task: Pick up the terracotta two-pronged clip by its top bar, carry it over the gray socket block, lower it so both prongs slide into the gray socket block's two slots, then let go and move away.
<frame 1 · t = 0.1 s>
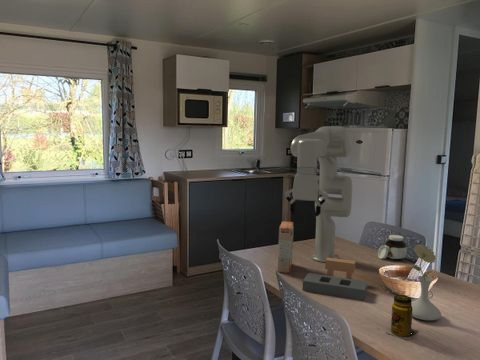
hand: (305, 214, 163), 31 cm above the table, tool pointing down, fingers open, 9 cm apart
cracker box: (285, 268, 193), on the table
spread jar: (391, 259, 209), on the table
gray socket block: (334, 290, 167), on the table
clip: (339, 280, 178), on the table
flower in vase: (421, 315, 145), on the table
condiment: (402, 332, 133), on the table
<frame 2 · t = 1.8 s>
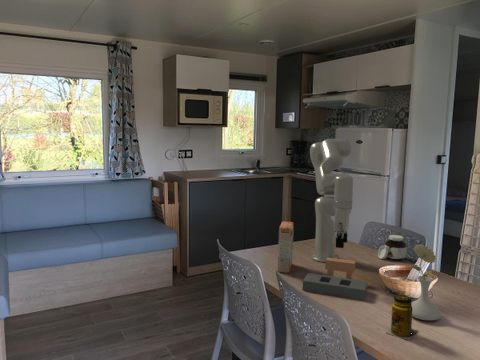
hand: (341, 244, 175), 16 cm above the table, tool pointing down, fingers open, 9 cm apart
nothing on the table moved.
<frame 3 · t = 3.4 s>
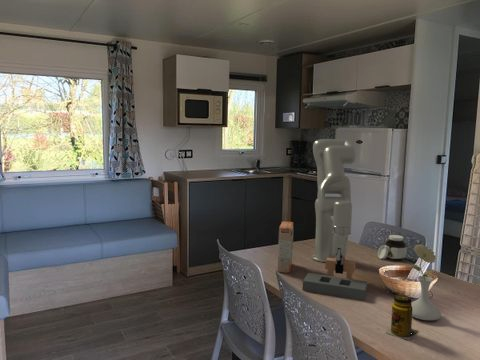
hand: (340, 271, 177), 4 cm above the table, tool pointing down, fingers closed on clip, 4 cm apart
clip: (339, 280, 178), on the table, touching gripper
everything else where it was.
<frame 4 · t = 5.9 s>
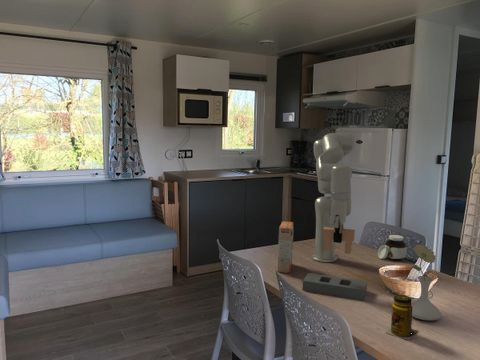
hand: (338, 240, 167), 20 cm above the table, tool pointing down, fingers closed on clip, 4 cm apart
clip: (338, 251, 167), point 16 cm above the table, touching gripper
everything else where it was.
when the fingers open (5 cm above the table, at t = 8.7 s): clip stays where it is, on the table.
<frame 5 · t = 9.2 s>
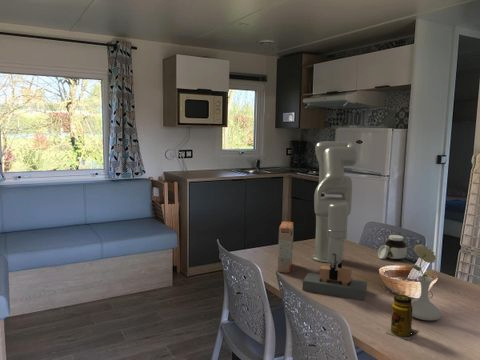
hand: (335, 275, 166), 6 cm above the table, tool pointing down, fingers open, 9 cm apart
clip: (334, 290, 167), on the table
everything else where it was.
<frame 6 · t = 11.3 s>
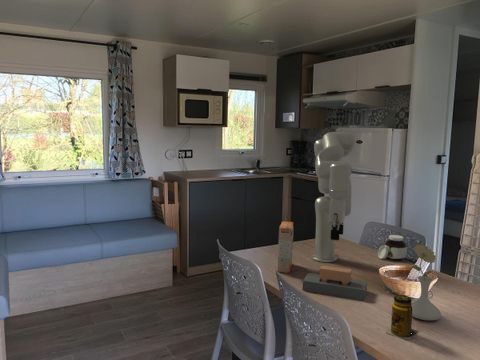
hand: (336, 236, 164), 22 cm above the table, tool pointing down, fingers open, 9 cm apart
nothing on the table moved.
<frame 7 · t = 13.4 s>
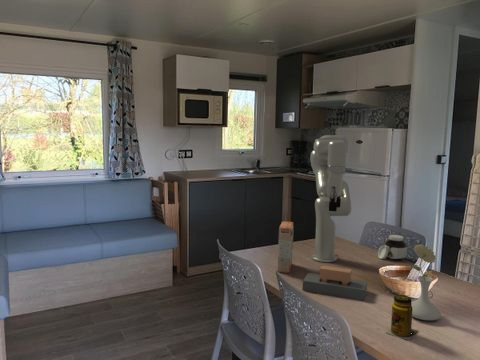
hand: (334, 209, 179), 30 cm above the table, tool pointing down, fingers open, 9 cm apart
nothing on the table moved.
at the end: clip 0.1 cm off-centre on the gray socket block, point 0.0 cm above the gray socket block's base; clip tilted 0°; the gripper is holding nothing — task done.
